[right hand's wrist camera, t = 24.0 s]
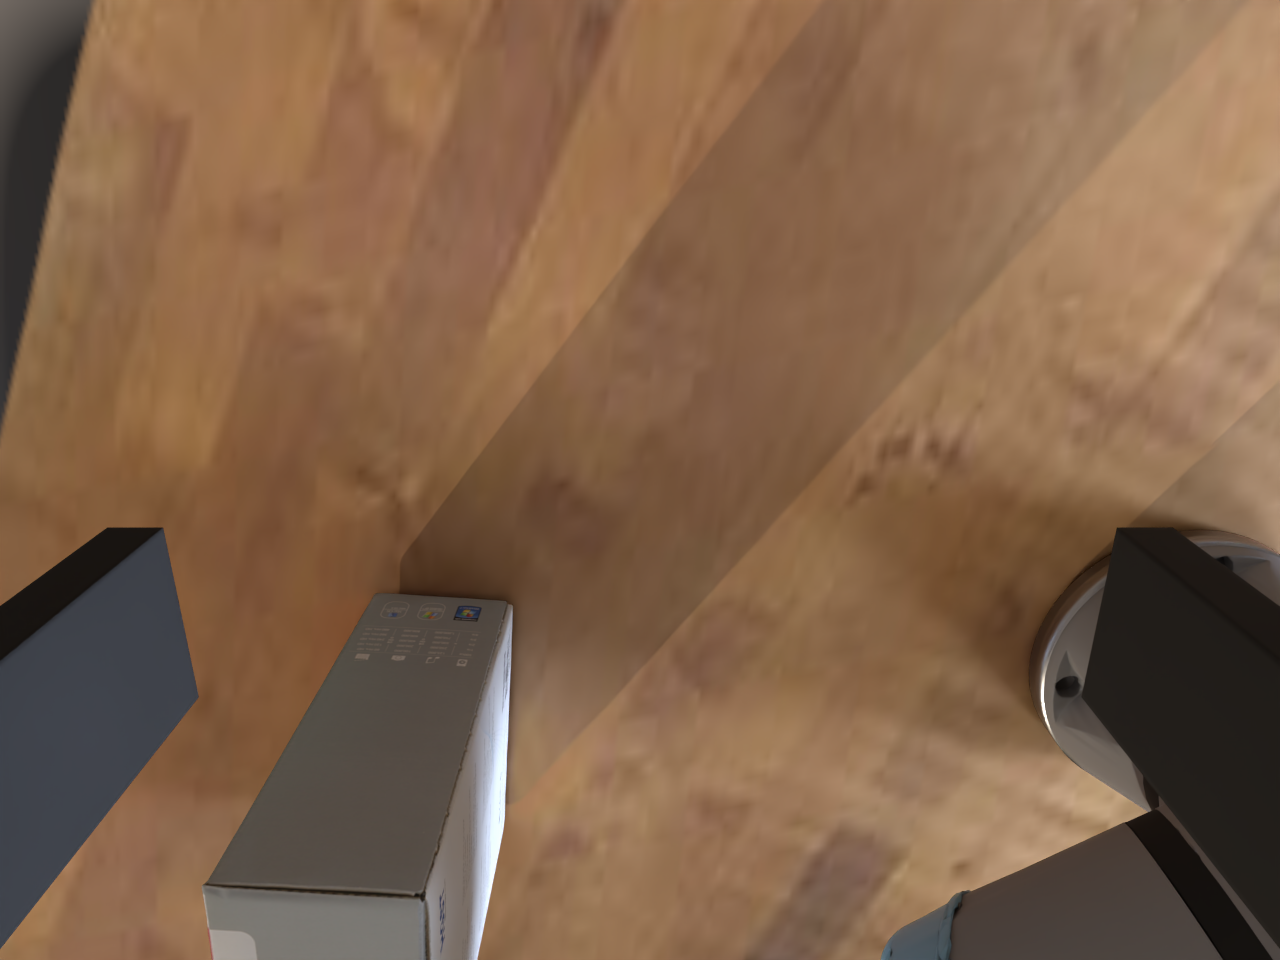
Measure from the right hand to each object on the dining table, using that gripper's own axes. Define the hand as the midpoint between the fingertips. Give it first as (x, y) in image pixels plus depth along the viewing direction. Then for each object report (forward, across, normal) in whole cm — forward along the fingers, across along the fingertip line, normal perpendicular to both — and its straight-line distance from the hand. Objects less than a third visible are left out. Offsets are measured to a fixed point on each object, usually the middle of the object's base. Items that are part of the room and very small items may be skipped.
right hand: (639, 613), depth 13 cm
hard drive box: (+31, -11, -24) cm, 41 cm away
